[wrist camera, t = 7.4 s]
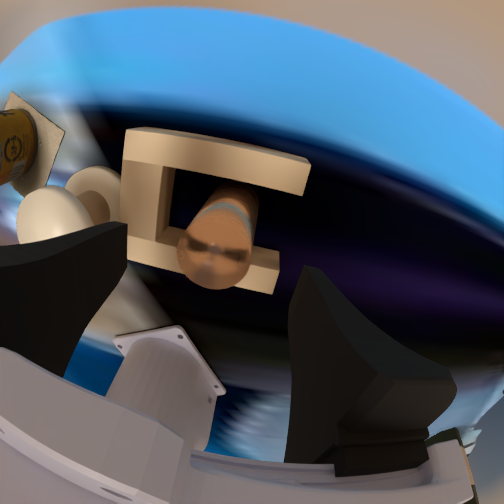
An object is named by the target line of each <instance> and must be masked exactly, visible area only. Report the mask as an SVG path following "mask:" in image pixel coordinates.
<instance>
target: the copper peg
mask: <svg viewBox="0 0 504 504" xmlns="http://www.w3.org/2000/svg"><path fill="white" fill-rule="evenodd" d="M258 210H259V200H258V196H257V194H256V192H255V191H254V190H253V188H252V187H250V186H249V185H248V184H246V183H244V182H241V181H228V182H225V183H223V184H221V185H220V186H218V187H217V188H216V190H215V191H214V192H213V193H212V195H211V196H210V197H209V199H208V200H207V202H206V203H205V204H204V206H203V207H202V208H201V210H200V211H199V212H198V214H197V215H196V217H195V218H194V219H193V221H192V222H191V224H190V225H189V226H188V228H187V229H186V231H185V232H184V233H183V235H182V236H181V238H180V240H179V242H178V245H177V260H178V263H179V266H180V268H181V269H182V271H183V272H184V274H185V275H186V276H187V277H188V278H189V279H190V280H192V281H193V282H194V283H196V284H198V285H200V286H202V287H206V288H210V289H225V288H229V287H231V286H234V285H235V284H237V283H239V282H240V281H241V280H242V279H243V278H244V277H245V275H246V274H247V272H248V270H249V267H250V261H251V255H252V249H253V242H254V236H255V229H256V223H257V216H258Z"/></svg>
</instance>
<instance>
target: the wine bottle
mask: <svg viewBox="0 0 504 504" xmlns="http://www.w3.org/2000/svg"><path fill="white" fill-rule="evenodd" d="M454 439H456V440H458V442H459V445H460V448H461V451H462V455H463V458H464V461H465V465H466V468H467V472H468V475H469V479H470V483H471V487H472V491H473V495H474V496H473V498H472V499H470V500H468V501H467V502H465V503H463V504H479V502H478V497H477V493H476V489H475V484H474V481H473V477H472V473H471V469H470V466H469V462H468V459H467V456H466V452H465V449H464V446H463V443H462V440H461V437H460V434H459V431H458V430H457V429H456V428H451V429H448V430H445V431H442V432H440V433H438V434H436V435H434V436H433V437H431V438H429V439H427V440H425V444H426V448H427V447H429V446H431V445H433V444H436V443H440V442H445V441H450V440H454Z"/></svg>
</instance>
